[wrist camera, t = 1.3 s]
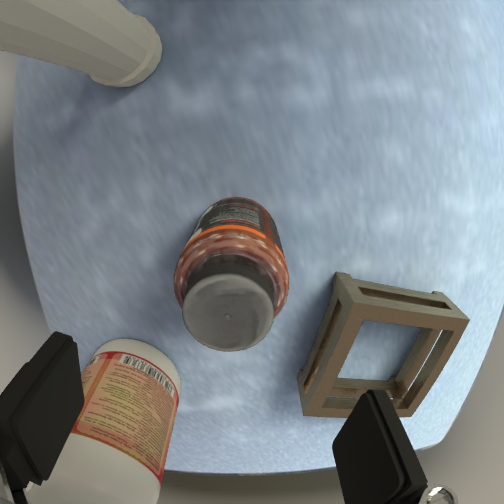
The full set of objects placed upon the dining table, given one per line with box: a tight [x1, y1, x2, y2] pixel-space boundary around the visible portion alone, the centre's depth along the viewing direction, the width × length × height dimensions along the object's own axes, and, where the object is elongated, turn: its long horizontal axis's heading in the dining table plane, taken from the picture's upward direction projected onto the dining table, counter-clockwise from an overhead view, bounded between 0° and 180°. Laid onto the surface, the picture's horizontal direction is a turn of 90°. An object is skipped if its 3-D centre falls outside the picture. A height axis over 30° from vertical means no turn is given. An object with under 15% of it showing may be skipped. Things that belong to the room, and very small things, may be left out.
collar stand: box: [297, 272, 470, 418], centre depth 25 cm, size 12×11×5 cm
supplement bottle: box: [174, 197, 289, 352], centre depth 19 cm, size 6×6×11 cm
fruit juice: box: [27, 339, 181, 504], centre depth 16 cm, size 9×9×28 cm
